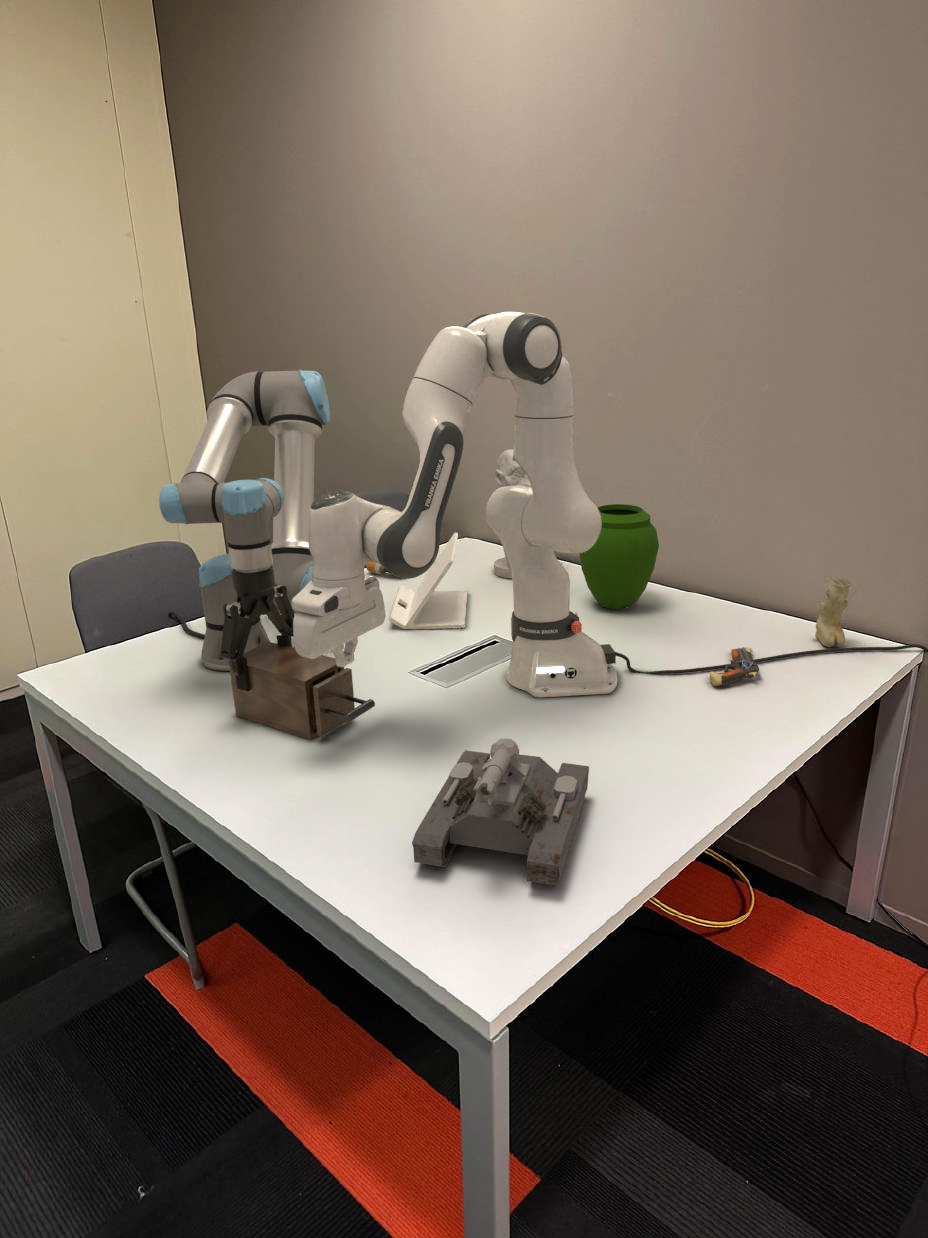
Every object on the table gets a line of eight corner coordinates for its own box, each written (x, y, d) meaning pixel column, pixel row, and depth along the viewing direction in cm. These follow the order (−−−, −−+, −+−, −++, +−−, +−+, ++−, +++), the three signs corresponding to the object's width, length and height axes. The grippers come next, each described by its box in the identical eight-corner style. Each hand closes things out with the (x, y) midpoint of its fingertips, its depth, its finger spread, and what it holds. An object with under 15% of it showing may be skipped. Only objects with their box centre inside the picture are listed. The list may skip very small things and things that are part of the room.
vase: (599, 587, 227) (601, 497, 218) (668, 600, 216) (673, 505, 208) (562, 608, 212) (564, 513, 204) (634, 623, 202) (639, 523, 193)
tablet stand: (467, 593, 225) (465, 531, 219) (465, 628, 202) (462, 559, 196) (399, 594, 226) (395, 532, 220) (388, 629, 203) (384, 560, 197)
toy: (466, 777, 139) (463, 694, 134) (588, 793, 134) (590, 707, 128) (413, 872, 117) (407, 776, 111) (557, 896, 111) (559, 797, 106)
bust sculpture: (503, 593, 225) (502, 460, 212) (483, 567, 247) (480, 445, 234) (562, 587, 228) (563, 456, 215) (536, 562, 250) (536, 441, 237)
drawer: (380, 723, 156) (377, 675, 153) (347, 745, 149) (343, 695, 145) (285, 695, 168) (280, 650, 165) (250, 714, 161) (244, 667, 158)
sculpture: (821, 649, 184) (830, 583, 179) (808, 637, 191) (816, 573, 185) (848, 649, 184) (858, 582, 179) (834, 636, 191) (843, 572, 185)
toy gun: (711, 676, 167) (764, 673, 165) (703, 646, 185) (751, 643, 183) (712, 689, 168) (765, 686, 166) (704, 657, 186) (752, 654, 183)
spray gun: (386, 561, 257) (430, 568, 252) (356, 574, 243) (403, 581, 237) (386, 547, 256) (430, 554, 250) (356, 559, 242) (403, 566, 236)
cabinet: (348, 716, 161) (343, 660, 157) (310, 740, 153) (304, 681, 149) (275, 694, 171) (268, 641, 167) (235, 715, 163) (228, 660, 159)
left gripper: (281, 548, 166) (293, 653, 173) (188, 581, 148) (205, 696, 155) (310, 553, 162) (321, 660, 170) (218, 588, 144) (234, 706, 152)
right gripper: (363, 570, 154) (368, 641, 159) (283, 603, 138) (291, 681, 143) (391, 575, 151) (395, 647, 156) (313, 609, 135) (320, 689, 140)
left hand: (265, 678), depth 163 cm, fingers closed on cabinet, 10 cm apart
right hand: (345, 664), depth 149 cm, fingers closed
